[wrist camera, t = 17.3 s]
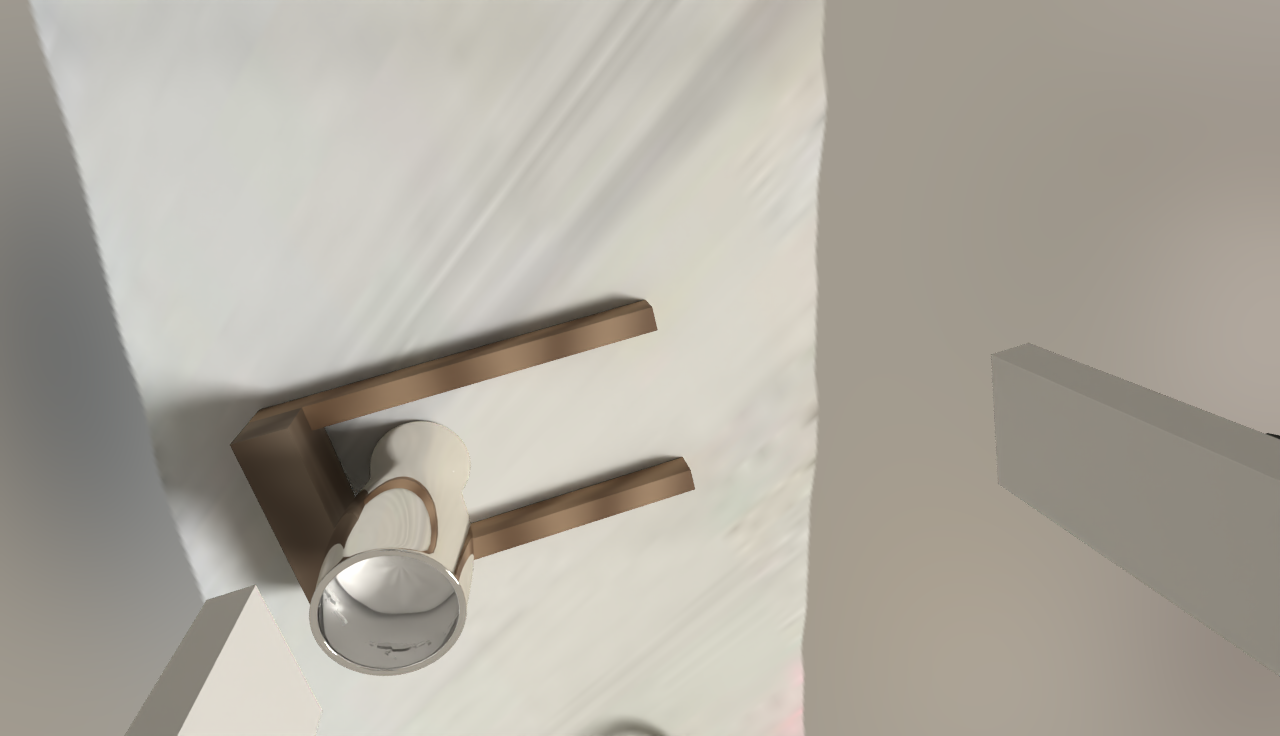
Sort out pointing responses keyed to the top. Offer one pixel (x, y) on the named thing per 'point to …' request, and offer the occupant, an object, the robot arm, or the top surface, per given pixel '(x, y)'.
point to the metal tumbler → (399, 557)
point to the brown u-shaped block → (303, 454)
